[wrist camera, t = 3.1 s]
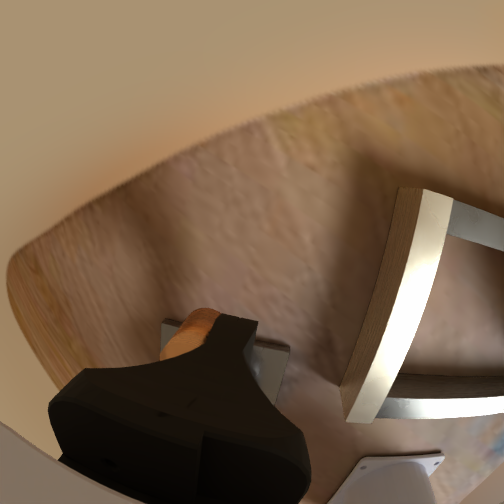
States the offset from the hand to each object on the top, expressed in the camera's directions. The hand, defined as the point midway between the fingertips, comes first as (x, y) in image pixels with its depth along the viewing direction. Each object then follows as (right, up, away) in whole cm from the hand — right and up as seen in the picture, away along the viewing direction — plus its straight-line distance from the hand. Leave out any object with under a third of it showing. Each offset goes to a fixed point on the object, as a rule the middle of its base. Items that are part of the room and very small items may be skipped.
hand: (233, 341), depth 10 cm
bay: (+17, -1, +3) cm, 17 cm away
